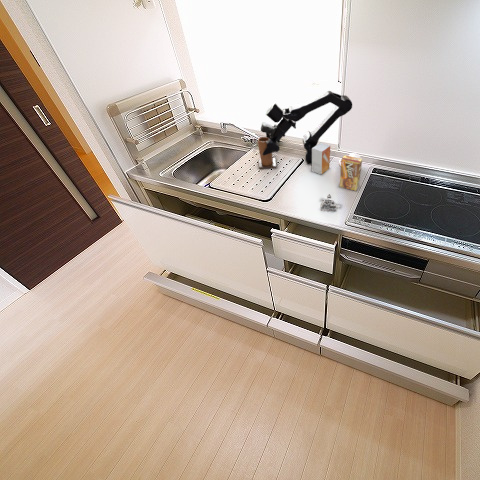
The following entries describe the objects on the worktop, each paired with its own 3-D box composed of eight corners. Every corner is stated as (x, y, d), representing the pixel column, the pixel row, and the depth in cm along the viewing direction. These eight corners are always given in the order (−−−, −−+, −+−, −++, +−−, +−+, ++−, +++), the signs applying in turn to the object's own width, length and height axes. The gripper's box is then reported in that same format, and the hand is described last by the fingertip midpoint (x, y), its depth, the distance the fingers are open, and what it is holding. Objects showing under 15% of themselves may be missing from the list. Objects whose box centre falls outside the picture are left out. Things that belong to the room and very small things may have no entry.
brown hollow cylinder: (274, 163, 141) (271, 140, 132) (264, 166, 139) (260, 143, 129) (270, 158, 145) (267, 135, 135) (259, 161, 142) (255, 138, 133)
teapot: (340, 200, 121) (341, 186, 115) (340, 212, 115) (341, 198, 109) (321, 199, 121) (321, 185, 116) (320, 211, 115) (320, 197, 110)
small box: (321, 175, 136) (322, 151, 126) (311, 171, 138) (311, 148, 129) (329, 168, 141) (330, 145, 131) (319, 165, 143) (320, 142, 134)
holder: (275, 159, 146) (274, 150, 142) (276, 168, 140) (275, 158, 136) (259, 161, 145) (257, 151, 141) (259, 169, 139) (257, 159, 135)
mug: (362, 168, 141) (364, 154, 136) (358, 176, 135) (360, 163, 129) (340, 164, 144) (341, 150, 138) (336, 173, 137) (337, 159, 132)
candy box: (358, 186, 129) (362, 158, 118) (356, 191, 126) (360, 162, 115) (341, 182, 131) (344, 154, 120) (339, 187, 128) (341, 158, 117)
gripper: (268, 110, 132) (250, 133, 138) (269, 124, 119) (249, 149, 125) (285, 125, 138) (266, 146, 145) (288, 140, 125) (268, 163, 132)
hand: (262, 150), depth 137 cm, fingers open, 9 cm apart
